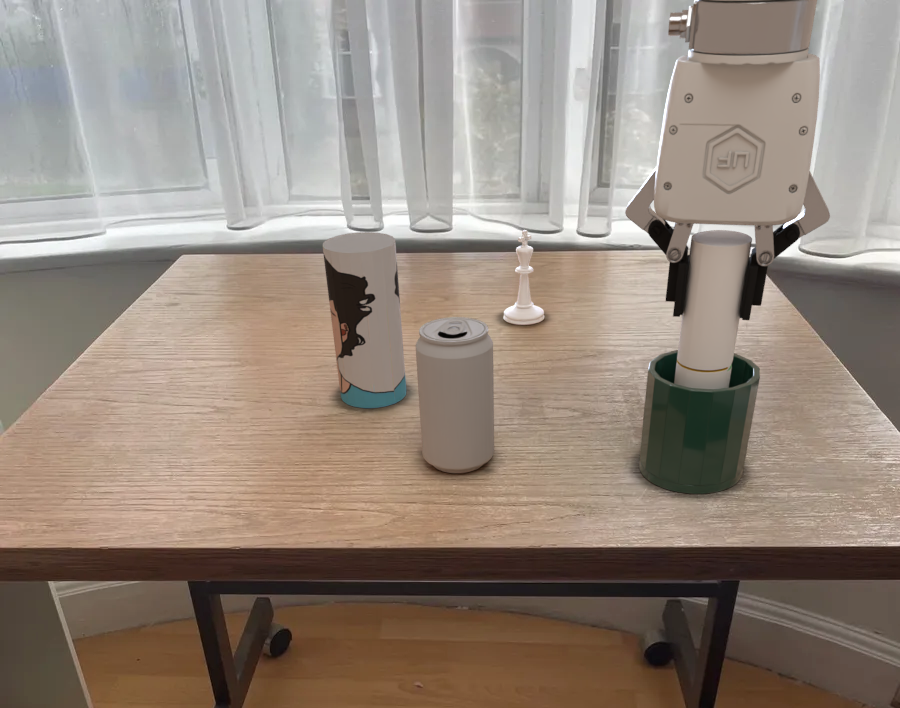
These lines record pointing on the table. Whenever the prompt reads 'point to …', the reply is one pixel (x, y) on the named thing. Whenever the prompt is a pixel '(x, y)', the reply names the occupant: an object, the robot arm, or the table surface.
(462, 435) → the beverage can
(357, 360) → the cup
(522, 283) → the chess piece
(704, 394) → the cup
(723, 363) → the tube
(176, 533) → the table surface
